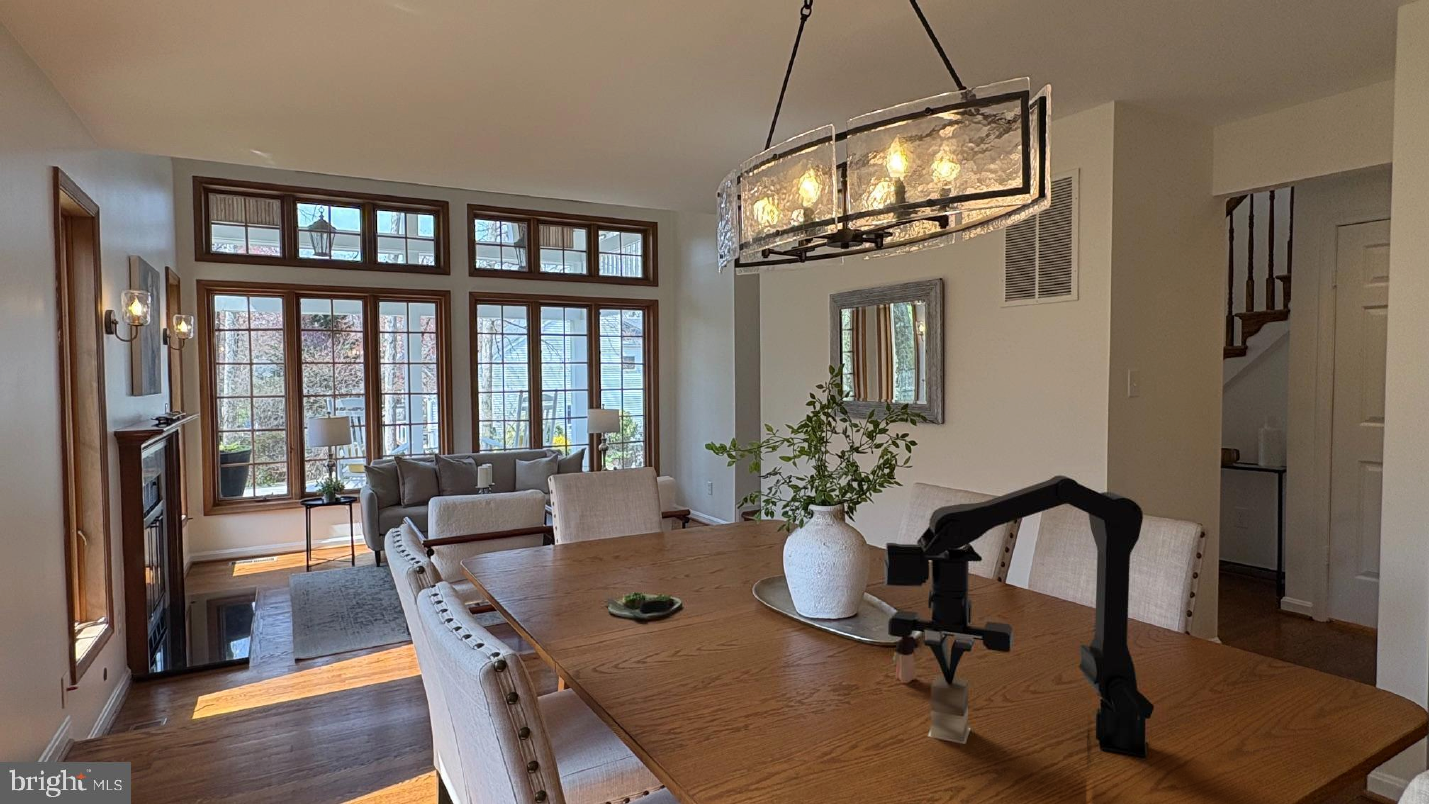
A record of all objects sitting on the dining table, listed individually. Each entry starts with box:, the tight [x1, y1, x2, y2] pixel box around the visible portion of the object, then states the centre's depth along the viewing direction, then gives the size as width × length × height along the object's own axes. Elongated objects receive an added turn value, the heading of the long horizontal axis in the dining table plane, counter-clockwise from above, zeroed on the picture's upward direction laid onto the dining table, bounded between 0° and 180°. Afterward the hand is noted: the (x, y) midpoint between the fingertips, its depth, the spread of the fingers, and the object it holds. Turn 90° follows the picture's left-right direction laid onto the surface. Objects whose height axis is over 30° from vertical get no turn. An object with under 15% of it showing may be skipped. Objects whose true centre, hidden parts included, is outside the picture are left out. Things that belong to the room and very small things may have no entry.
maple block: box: [930, 705, 969, 742], centre depth 124 cm, size 5×5×4 cm
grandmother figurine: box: [892, 631, 922, 684], centre depth 145 cm, size 8×4×13 cm, turn 141°
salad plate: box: [604, 591, 683, 621], centre depth 193 cm, size 19×18×5 cm
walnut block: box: [930, 674, 969, 717], centre depth 124 cm, size 5×5×4 cm
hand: (949, 682), depth 124 cm, fingers closed
